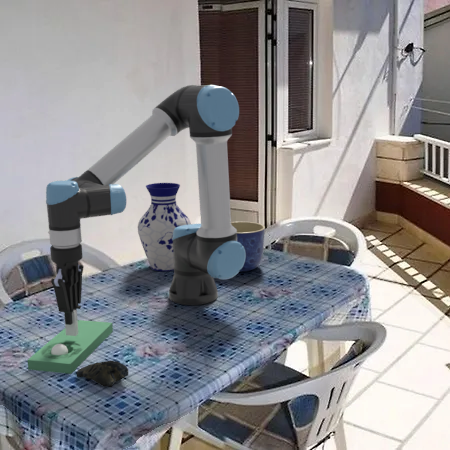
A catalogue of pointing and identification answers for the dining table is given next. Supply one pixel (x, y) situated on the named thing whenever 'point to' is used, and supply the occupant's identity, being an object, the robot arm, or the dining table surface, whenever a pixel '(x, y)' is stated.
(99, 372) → the stone
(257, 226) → the planter
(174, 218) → the vase
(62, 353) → the ball
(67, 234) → the robot arm
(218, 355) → the dining table surface
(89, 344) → the green rectangular board
